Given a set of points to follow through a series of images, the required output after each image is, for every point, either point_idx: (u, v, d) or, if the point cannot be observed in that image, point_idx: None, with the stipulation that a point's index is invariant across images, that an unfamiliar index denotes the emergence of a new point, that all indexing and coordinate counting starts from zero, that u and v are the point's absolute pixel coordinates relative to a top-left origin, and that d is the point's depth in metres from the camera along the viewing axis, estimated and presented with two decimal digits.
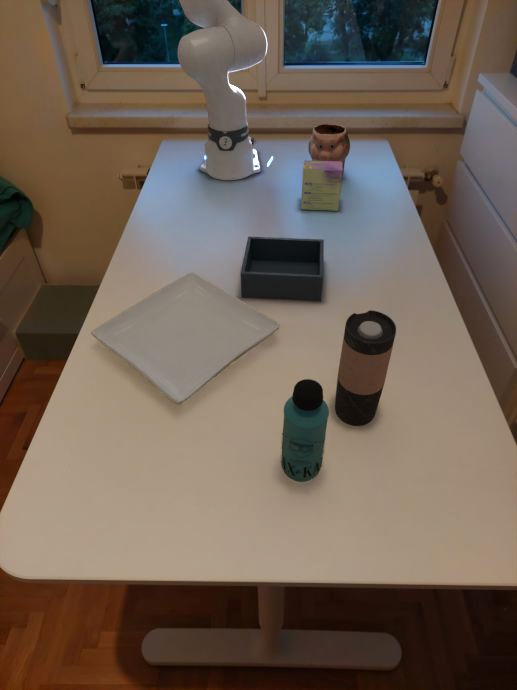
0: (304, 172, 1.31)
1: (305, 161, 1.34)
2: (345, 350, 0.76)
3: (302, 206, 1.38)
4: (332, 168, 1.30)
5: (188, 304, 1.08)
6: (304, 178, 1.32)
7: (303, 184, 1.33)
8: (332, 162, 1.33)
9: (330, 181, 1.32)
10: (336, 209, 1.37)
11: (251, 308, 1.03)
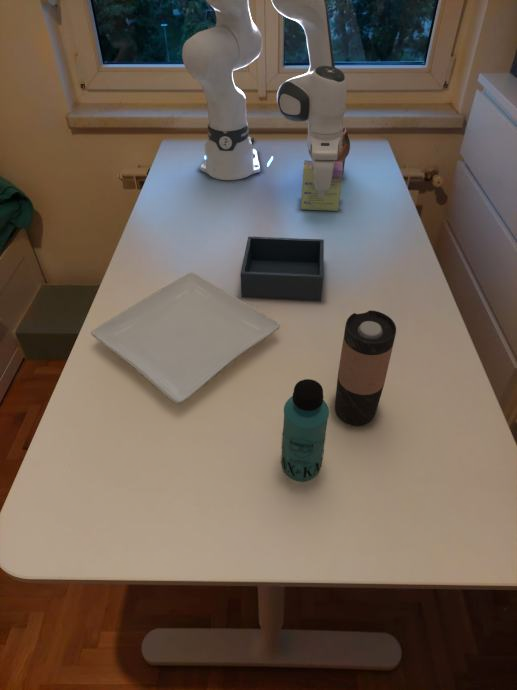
0: (304, 172, 1.31)
1: (305, 161, 1.34)
2: (345, 350, 0.76)
3: (302, 206, 1.38)
4: None
5: (188, 304, 1.08)
6: (304, 178, 1.32)
7: (303, 184, 1.33)
8: None
9: None
10: (336, 209, 1.37)
11: (251, 308, 1.03)
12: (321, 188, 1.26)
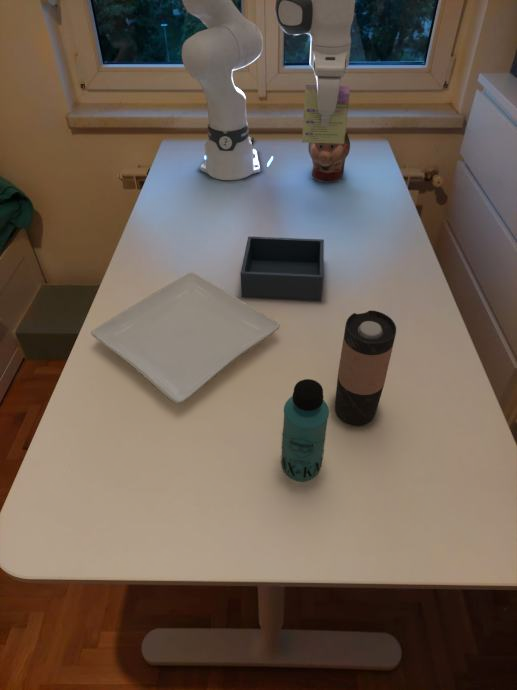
0: (306, 96, 1.16)
1: (307, 85, 1.19)
2: (345, 350, 0.76)
3: (304, 138, 1.23)
4: None
5: (188, 304, 1.08)
6: (306, 104, 1.17)
7: (305, 111, 1.19)
8: None
9: None
10: (342, 142, 1.23)
11: (251, 308, 1.03)
12: (325, 111, 1.11)
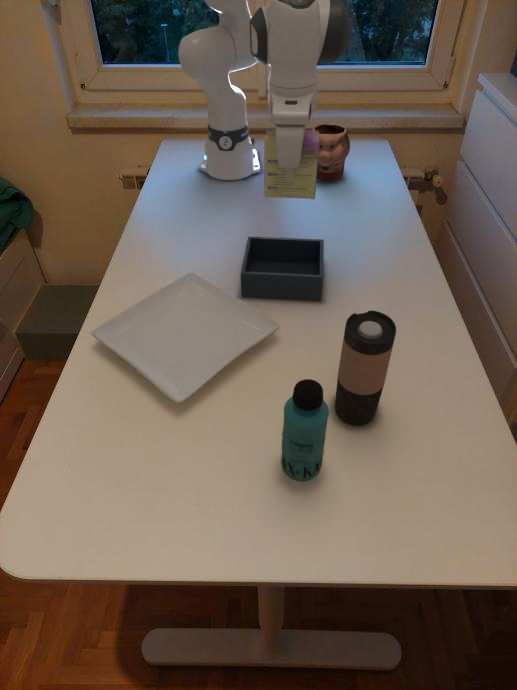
0: (266, 145, 0.95)
1: (268, 130, 0.98)
2: (345, 350, 0.76)
3: (266, 193, 1.02)
4: (304, 139, 0.94)
5: (188, 304, 1.08)
6: (266, 153, 0.96)
7: (265, 162, 0.97)
8: (305, 132, 0.97)
9: (302, 157, 0.96)
10: (312, 197, 1.01)
11: (251, 308, 1.03)
12: (287, 166, 0.90)
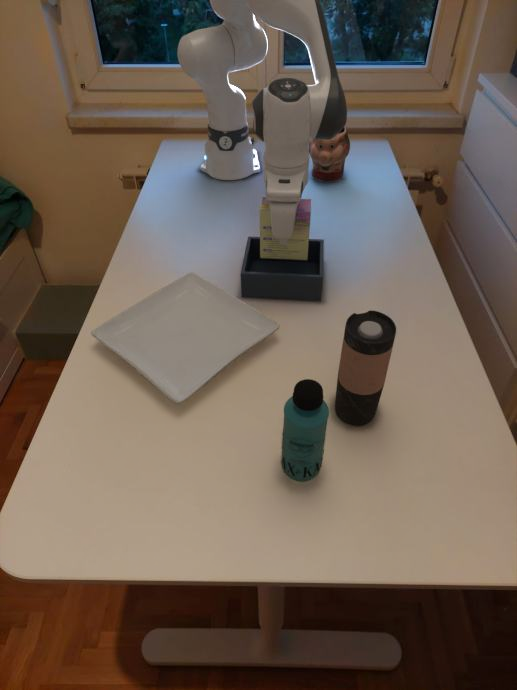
0: (261, 214, 1.02)
1: (264, 199, 1.04)
2: (345, 350, 0.76)
3: (261, 254, 1.09)
4: (297, 209, 1.01)
5: (188, 304, 1.08)
6: (262, 221, 1.03)
7: (261, 228, 1.04)
8: None
9: (295, 224, 1.03)
10: (305, 258, 1.08)
11: (251, 308, 1.03)
12: (281, 237, 0.97)
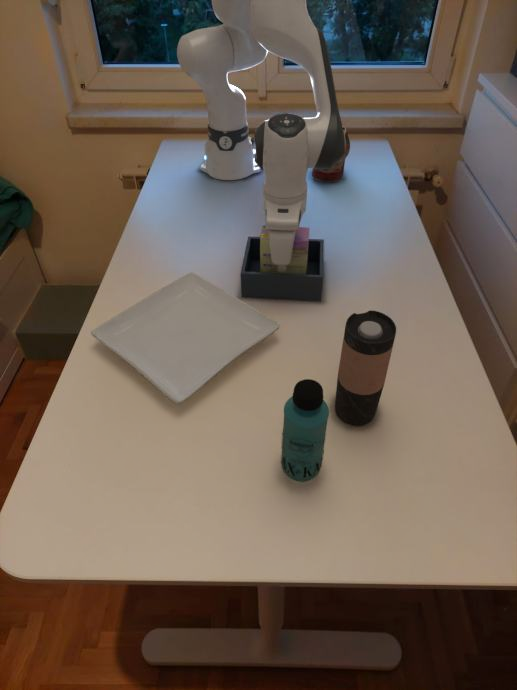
0: (261, 242, 1.07)
1: (264, 227, 1.09)
2: (345, 350, 0.76)
3: None
4: (296, 238, 1.06)
5: (188, 304, 1.08)
6: (262, 249, 1.08)
7: (261, 255, 1.09)
8: None
9: (294, 252, 1.07)
10: None
11: (251, 308, 1.03)
12: (279, 263, 1.01)
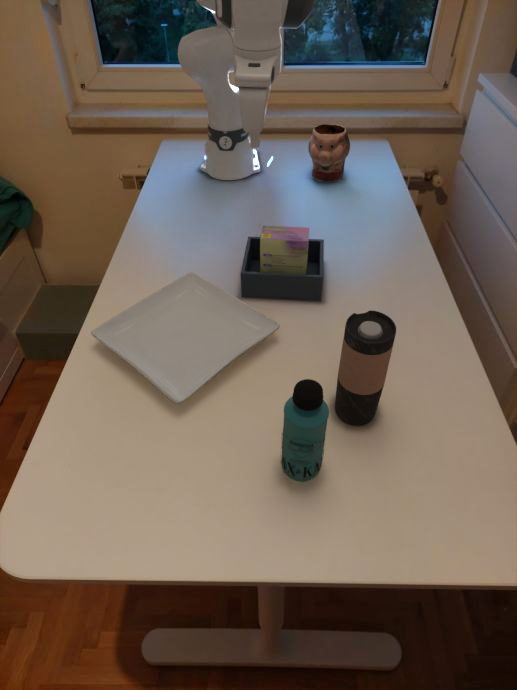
0: (261, 242, 1.07)
1: (264, 227, 1.09)
2: (345, 350, 0.76)
3: None
4: (296, 238, 1.06)
5: (188, 304, 1.08)
6: (262, 249, 1.08)
7: (261, 255, 1.09)
8: (297, 229, 1.09)
9: (294, 252, 1.07)
10: None
11: (251, 308, 1.03)
12: (251, 128, 0.92)
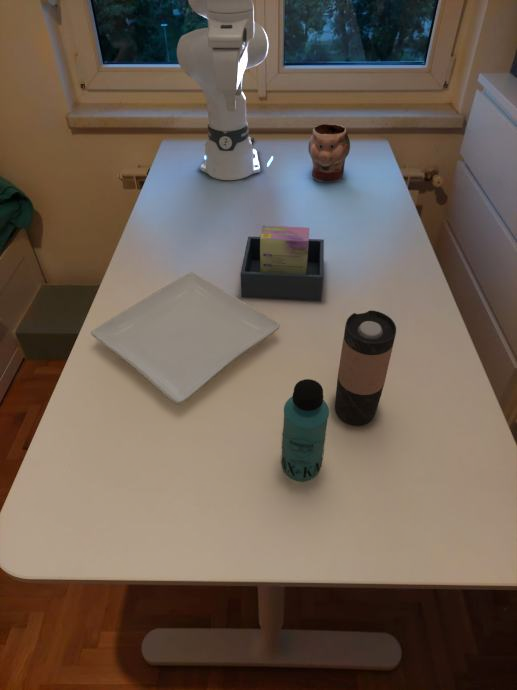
0: (261, 242, 1.07)
1: (264, 227, 1.09)
2: (345, 350, 0.76)
3: None
4: (296, 238, 1.06)
5: (188, 304, 1.08)
6: (262, 249, 1.08)
7: (261, 255, 1.09)
8: (297, 229, 1.09)
9: (294, 252, 1.07)
10: None
11: (251, 308, 1.03)
12: (225, 89, 0.95)
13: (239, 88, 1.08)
